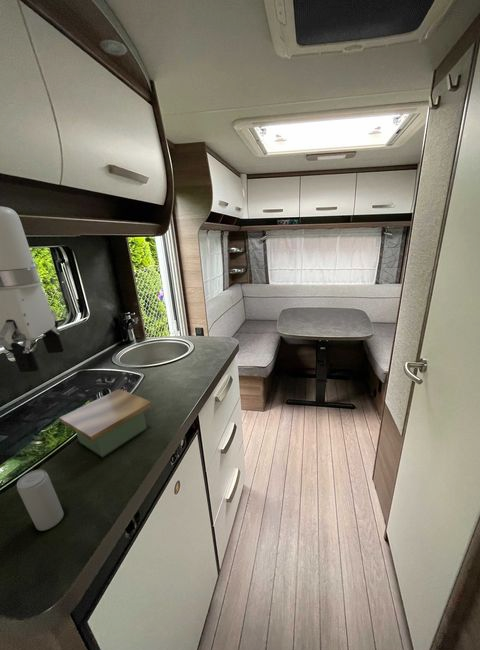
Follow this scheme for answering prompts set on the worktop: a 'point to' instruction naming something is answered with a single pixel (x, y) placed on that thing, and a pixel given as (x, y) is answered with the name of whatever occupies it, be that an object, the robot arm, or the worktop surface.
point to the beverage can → (40, 499)
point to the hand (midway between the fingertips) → (44, 360)
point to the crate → (115, 436)
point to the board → (105, 414)
